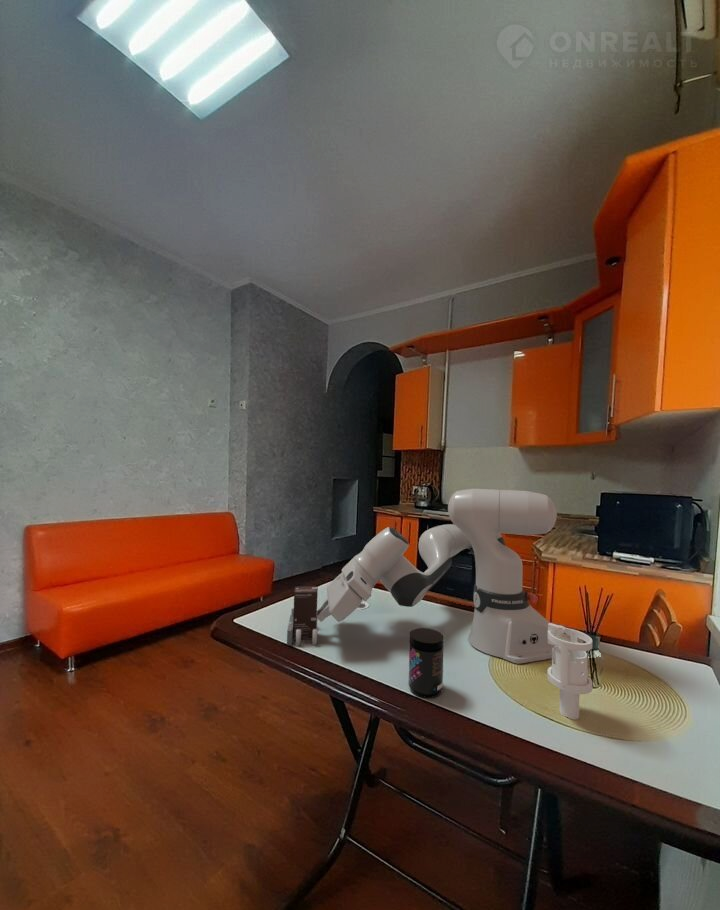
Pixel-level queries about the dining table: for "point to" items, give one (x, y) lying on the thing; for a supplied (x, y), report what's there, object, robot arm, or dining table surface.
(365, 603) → the teacup and saucer
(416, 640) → the supplement container
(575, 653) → the white plastic upright piece
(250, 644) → the dining table surface
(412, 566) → the robot arm
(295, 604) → the box
